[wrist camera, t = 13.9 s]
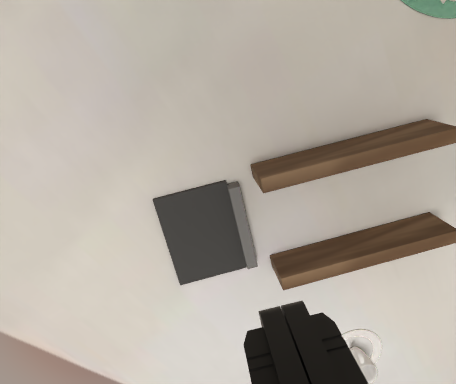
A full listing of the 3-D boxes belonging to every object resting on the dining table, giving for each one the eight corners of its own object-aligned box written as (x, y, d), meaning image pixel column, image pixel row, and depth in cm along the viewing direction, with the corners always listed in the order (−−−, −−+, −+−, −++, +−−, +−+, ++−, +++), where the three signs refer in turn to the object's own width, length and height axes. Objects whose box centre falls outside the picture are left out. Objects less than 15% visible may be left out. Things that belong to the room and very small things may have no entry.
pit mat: (152, 198, 40) (152, 204, 39) (236, 177, 41) (238, 182, 39) (180, 283, 44) (180, 291, 43) (255, 262, 44) (258, 270, 43)
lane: (250, 164, 40) (260, 178, 36) (426, 119, 41) (458, 127, 37) (272, 265, 45) (283, 290, 40) (429, 223, 46) (458, 242, 41)
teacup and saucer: (374, 375, 54) (389, 399, 50) (321, 379, 53) (332, 404, 49) (384, 325, 51) (401, 347, 47) (329, 328, 50) (341, 351, 46)
